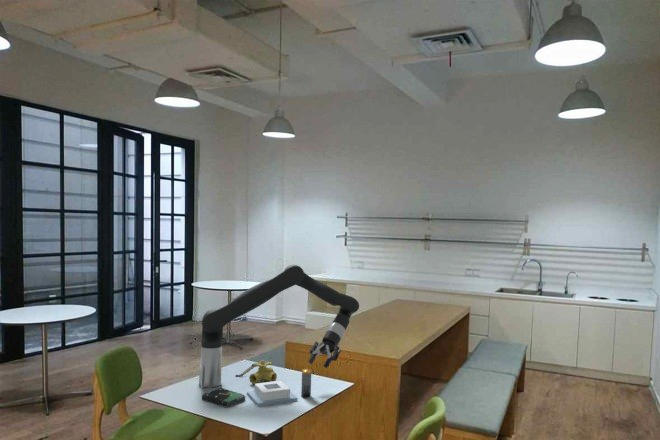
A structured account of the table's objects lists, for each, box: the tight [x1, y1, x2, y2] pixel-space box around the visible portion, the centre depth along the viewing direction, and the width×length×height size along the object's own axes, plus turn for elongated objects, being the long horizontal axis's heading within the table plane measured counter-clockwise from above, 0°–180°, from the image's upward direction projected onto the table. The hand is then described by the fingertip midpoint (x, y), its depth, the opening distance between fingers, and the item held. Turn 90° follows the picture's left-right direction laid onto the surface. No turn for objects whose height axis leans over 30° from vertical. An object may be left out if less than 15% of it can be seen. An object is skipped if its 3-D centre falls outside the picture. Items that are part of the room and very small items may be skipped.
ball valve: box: [248, 359, 278, 385], centre depth 214 cm, size 13×10×10 cm
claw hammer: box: [235, 363, 255, 378], centre depth 230 cm, size 21×7×1 cm, turn 166°
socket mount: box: [246, 380, 298, 407], centre depth 194 cm, size 17×15×5 cm
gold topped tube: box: [301, 368, 312, 399], centre depth 197 cm, size 4×4×11 cm
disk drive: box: [201, 387, 246, 408], centre depth 190 cm, size 10×3×15 cm
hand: (317, 365), depth 203 cm, fingers open, 8 cm apart
